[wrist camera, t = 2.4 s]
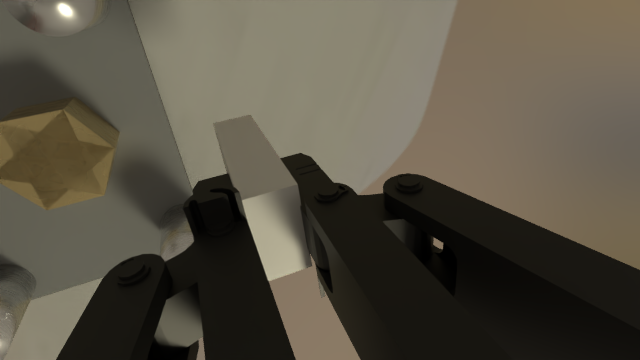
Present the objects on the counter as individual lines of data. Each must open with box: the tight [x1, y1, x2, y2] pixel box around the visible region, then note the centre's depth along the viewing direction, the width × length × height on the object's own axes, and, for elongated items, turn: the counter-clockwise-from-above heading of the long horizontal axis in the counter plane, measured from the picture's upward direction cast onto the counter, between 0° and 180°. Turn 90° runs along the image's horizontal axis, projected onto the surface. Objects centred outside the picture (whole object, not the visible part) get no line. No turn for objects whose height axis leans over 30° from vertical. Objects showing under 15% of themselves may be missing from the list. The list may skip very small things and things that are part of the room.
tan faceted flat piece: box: [0, 97, 120, 210], centre depth 18 cm, size 5×4×2 cm
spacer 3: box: [160, 204, 194, 261], centre depth 21 cm, size 3×3×5 cm
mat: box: [0, 0, 193, 300], centre depth 18 cm, size 15×17×1 cm
